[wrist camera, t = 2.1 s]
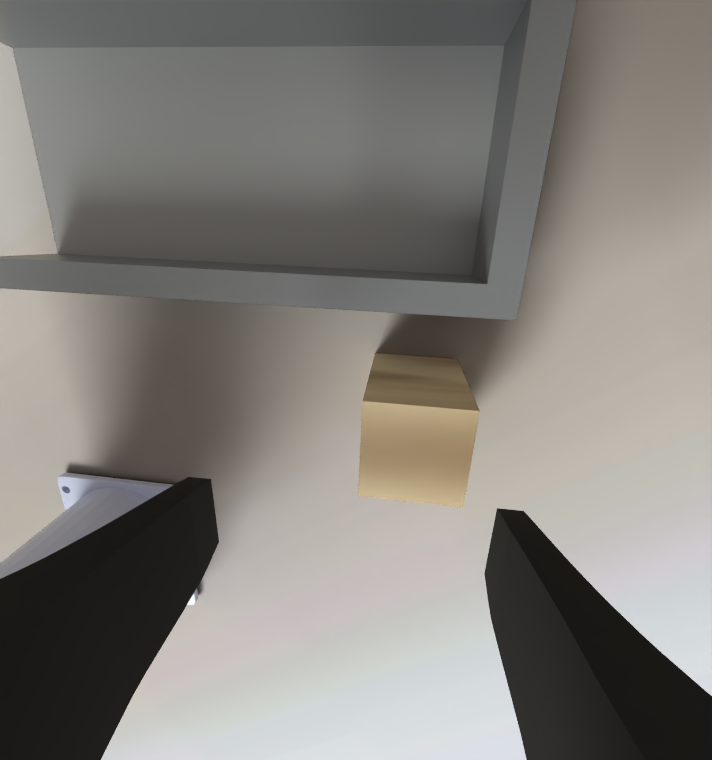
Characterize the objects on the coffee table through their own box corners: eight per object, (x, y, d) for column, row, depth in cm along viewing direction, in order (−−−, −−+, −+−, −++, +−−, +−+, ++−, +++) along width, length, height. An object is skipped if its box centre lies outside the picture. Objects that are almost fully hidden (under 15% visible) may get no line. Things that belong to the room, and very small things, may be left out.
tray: (492, 302, 18) (516, 320, 14) (73, 278, 20) (-5, 287, 16) (540, 11, 14) (590, -72, 10) (18, 18, 16) (-101, -49, 12)
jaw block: (447, 432, 20) (463, 507, 14) (370, 425, 20) (357, 495, 15) (457, 359, 19) (479, 410, 13) (375, 352, 19) (362, 401, 13)
